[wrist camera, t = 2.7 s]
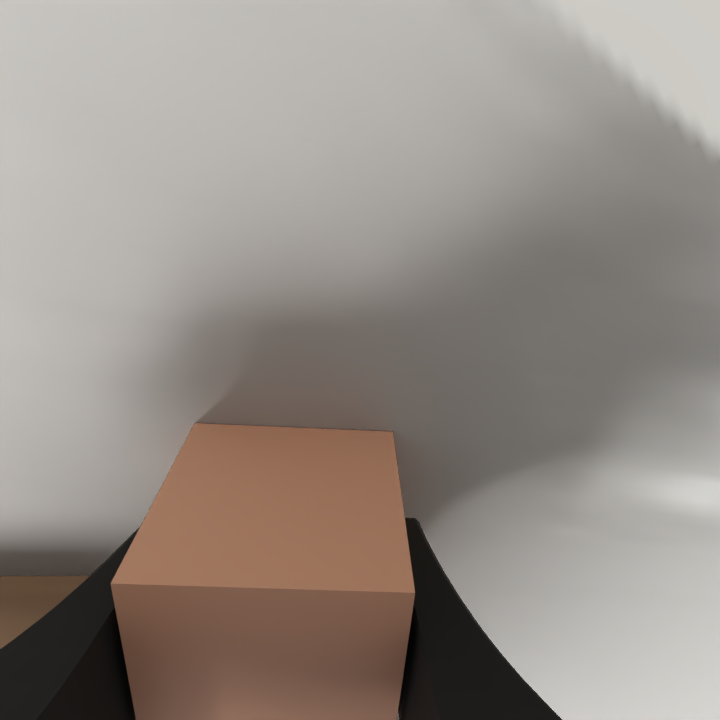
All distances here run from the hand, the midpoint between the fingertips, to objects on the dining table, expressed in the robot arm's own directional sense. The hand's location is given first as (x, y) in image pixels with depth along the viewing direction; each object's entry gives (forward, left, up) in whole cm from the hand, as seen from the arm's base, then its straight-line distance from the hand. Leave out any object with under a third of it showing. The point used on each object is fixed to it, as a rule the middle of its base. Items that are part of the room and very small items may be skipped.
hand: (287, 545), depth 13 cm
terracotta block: (0, 0, -2) cm, 2 cm away
